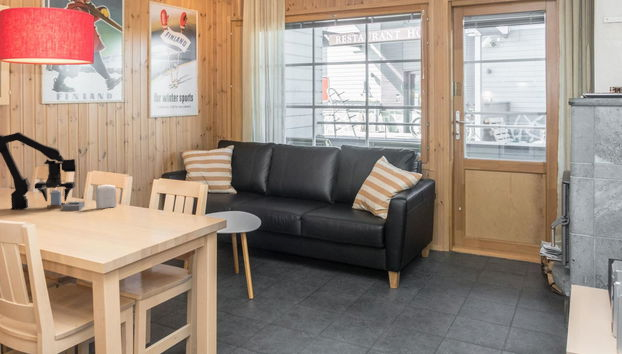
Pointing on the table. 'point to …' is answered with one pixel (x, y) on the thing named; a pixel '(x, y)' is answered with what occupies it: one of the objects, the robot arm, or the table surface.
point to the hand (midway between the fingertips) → (55, 201)
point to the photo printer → (105, 196)
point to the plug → (55, 197)
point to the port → (73, 206)
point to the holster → (55, 206)
